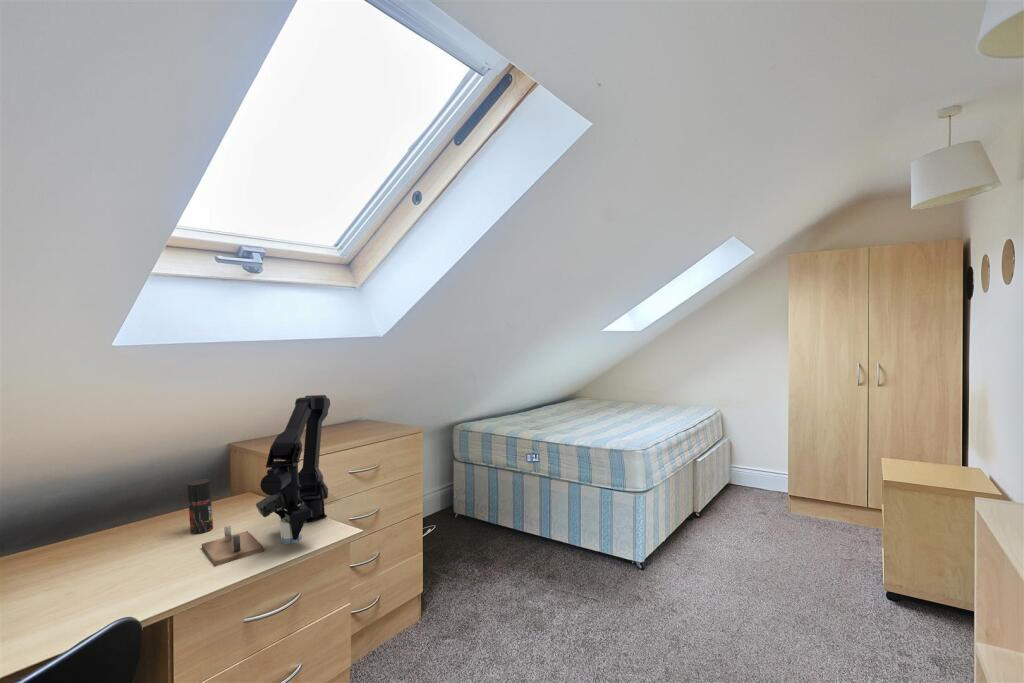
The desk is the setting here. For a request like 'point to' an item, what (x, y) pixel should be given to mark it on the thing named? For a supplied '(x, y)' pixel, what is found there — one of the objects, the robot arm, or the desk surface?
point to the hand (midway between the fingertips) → (291, 536)
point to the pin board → (231, 547)
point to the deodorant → (200, 506)
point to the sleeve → (287, 533)
